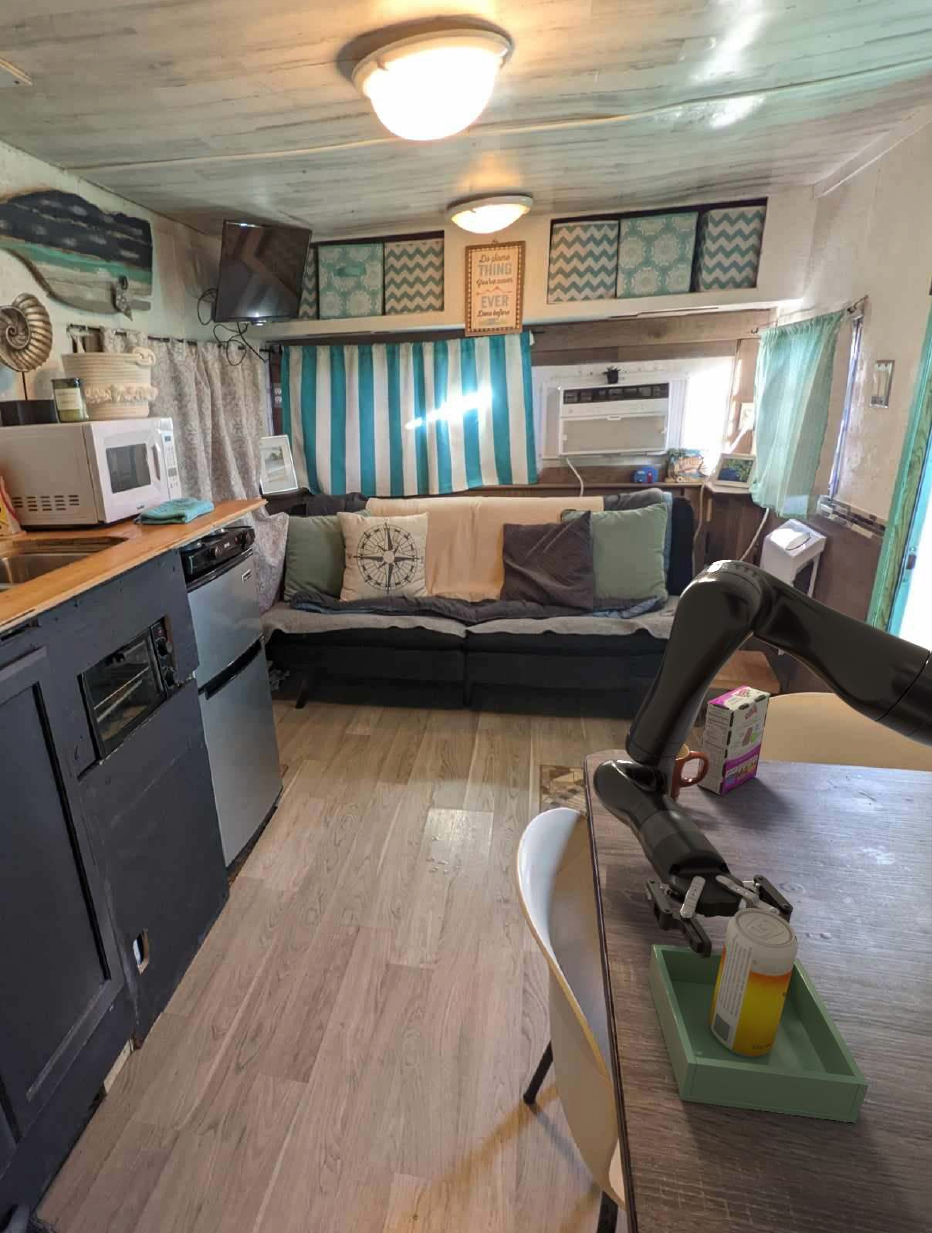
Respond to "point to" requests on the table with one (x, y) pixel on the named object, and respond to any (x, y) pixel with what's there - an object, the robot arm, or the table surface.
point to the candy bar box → (733, 738)
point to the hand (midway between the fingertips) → (749, 951)
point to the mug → (680, 761)
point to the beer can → (752, 981)
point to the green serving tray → (777, 1081)
